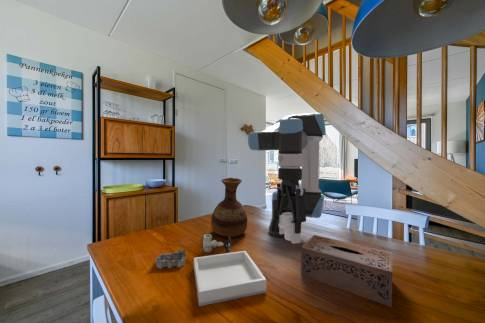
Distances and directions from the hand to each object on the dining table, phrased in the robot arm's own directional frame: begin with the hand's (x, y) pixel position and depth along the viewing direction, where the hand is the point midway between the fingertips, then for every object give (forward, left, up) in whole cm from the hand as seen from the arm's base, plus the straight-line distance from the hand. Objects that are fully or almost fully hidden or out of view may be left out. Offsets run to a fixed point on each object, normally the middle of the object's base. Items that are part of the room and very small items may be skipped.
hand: (289, 237), depth 66 cm
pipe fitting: (0, 0, 0) cm, 0 cm away
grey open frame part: (+37, -24, -15) cm, 47 cm away
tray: (+19, -8, -15) cm, 25 cm away
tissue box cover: (-20, +3, -15) cm, 25 cm away
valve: (+19, -29, -15) cm, 38 cm away
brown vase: (+8, -49, -15) cm, 52 cm away
